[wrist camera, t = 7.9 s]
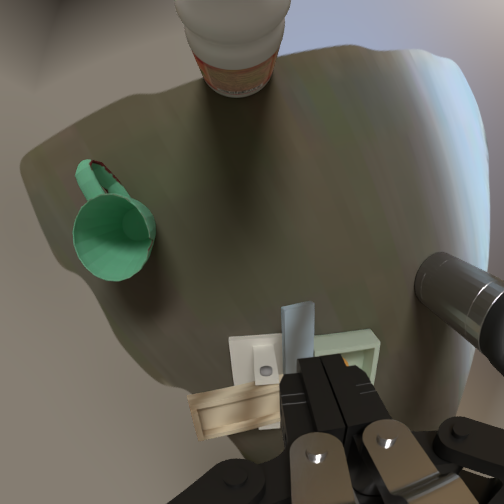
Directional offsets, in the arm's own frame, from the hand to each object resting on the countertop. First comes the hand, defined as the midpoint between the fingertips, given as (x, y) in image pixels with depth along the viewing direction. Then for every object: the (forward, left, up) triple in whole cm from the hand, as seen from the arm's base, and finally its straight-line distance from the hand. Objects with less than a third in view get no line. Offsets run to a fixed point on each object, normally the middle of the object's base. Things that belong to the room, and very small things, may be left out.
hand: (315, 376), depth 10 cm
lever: (+3, +17, -24) cm, 29 cm away
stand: (+1, +22, -32) cm, 39 cm away
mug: (+18, -4, -32) cm, 37 cm away
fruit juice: (+2, -22, -32) cm, 39 cm away
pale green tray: (-11, +22, -32) cm, 40 cm away
